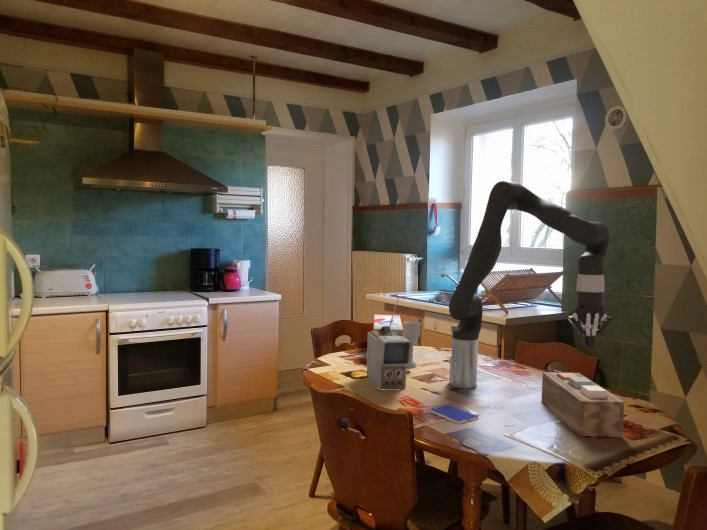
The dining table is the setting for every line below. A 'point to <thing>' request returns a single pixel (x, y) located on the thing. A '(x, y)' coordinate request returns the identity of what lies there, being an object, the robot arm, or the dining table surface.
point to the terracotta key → (566, 375)
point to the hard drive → (453, 413)
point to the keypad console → (582, 408)
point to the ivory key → (593, 391)
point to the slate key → (579, 382)
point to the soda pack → (388, 323)
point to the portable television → (387, 358)
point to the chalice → (412, 337)
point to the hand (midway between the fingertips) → (588, 348)
